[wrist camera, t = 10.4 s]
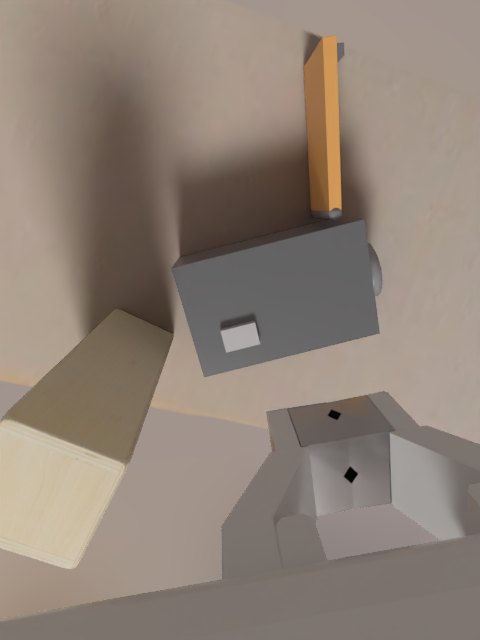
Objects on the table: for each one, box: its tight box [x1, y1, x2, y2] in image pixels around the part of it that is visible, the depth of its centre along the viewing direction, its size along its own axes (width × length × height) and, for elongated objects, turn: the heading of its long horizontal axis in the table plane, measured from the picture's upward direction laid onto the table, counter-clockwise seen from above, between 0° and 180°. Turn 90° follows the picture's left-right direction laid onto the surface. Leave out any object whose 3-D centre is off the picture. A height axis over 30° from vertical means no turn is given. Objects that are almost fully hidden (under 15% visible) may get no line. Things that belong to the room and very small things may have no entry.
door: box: [304, 36, 344, 220], centre depth 31 cm, size 13×2×6 cm, turn 6°
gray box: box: [172, 218, 382, 377], centre depth 34 cm, size 18×10×8 cm, turn 103°
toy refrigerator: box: [0, 309, 174, 569], centre depth 29 cm, size 8×7×21 cm
